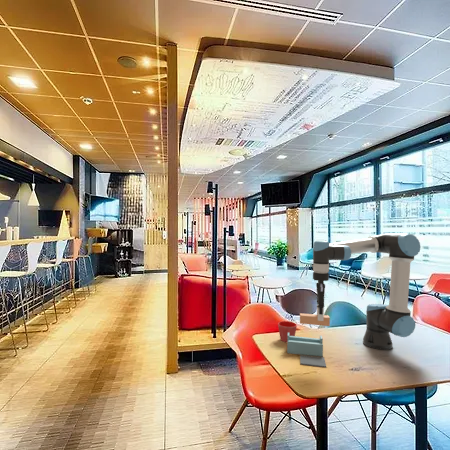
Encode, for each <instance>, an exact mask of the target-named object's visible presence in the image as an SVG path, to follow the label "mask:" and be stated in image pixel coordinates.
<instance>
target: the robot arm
mask: <svg viewBox="0 0 450 450" xmlns="http://www.w3.org/2000/svg"><path fill="white" fill-rule="evenodd" d="M420 250H421V242H420V240H419V239H418V238H417V236H415V235H413V234H411V233H406V232H404V233H403V232H402V233H396V232H393V233H392V232H391V233H390V232H389V233H387V232H386V233H383V234H382V233H381V234H377V235H369V236H368V237H367V238H362V239H353V240H346V241H345V240H343V241H337V242H336V241H335V242H329V241H326V240H324V241H323V240H316V241H314V242H313V246H312V253H313V256H312V259H313V260H312V265H311V267H312V271H313V272H312V280H313V281H317V282H316V283H315V286H316V315H318V321H324V315H325V314H324V313H325V310H324V309H325V308H324V307H325V293H326V292H325V291H326V283H324V282H328V281H329V280H330V279H329V277H330V276H329V275H330V273H329V272H330V261H348V260H350V258H352V255H353V254H354V255H355V254H361V253H368V252H370V253H374V254H375V253H382V254H388V257H389V259H390V260H391V270H390V271H391V272H390V283H389V286H390V287H389V298H388V299H389V300H388V301H389V302H388V303H389V304H382V303H371V304H367V306H366V311H365V313H366V314H365V315H366V319H365V320H366V330H365V332H364V336H363V338H362V342H363V344H364V345H365V346H367V347H369V348H371V349H372V348H373V349H376V350H385V351H387V350H391V349H393V340H392V338H391V335H390V333H391V334H393V335H394V336H398V337H401V338H407V337H409V336H411V335H412V334H413V333H414V331H415V329H416V321H415V318H414V317H412V315H411V313H412V311H411V310H410V309H409V307H408V306H409V289H410V288H409V287H410V278H411V275H410V274H411V273H410V272H411V262H414V260H415V257H416V256H418V254H419V253H420Z"/></svg>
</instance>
